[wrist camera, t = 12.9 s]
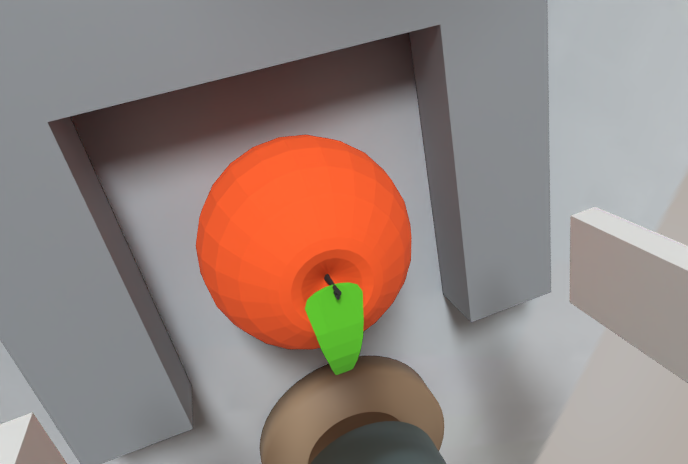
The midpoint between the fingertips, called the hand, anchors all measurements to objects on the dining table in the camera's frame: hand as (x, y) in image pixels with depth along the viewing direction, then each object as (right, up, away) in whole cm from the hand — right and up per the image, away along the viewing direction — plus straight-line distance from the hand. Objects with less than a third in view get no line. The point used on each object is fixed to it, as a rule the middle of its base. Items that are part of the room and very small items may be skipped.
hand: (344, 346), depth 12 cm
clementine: (-2, +3, +8) cm, 9 cm away
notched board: (-3, +5, +7) cm, 9 cm away
